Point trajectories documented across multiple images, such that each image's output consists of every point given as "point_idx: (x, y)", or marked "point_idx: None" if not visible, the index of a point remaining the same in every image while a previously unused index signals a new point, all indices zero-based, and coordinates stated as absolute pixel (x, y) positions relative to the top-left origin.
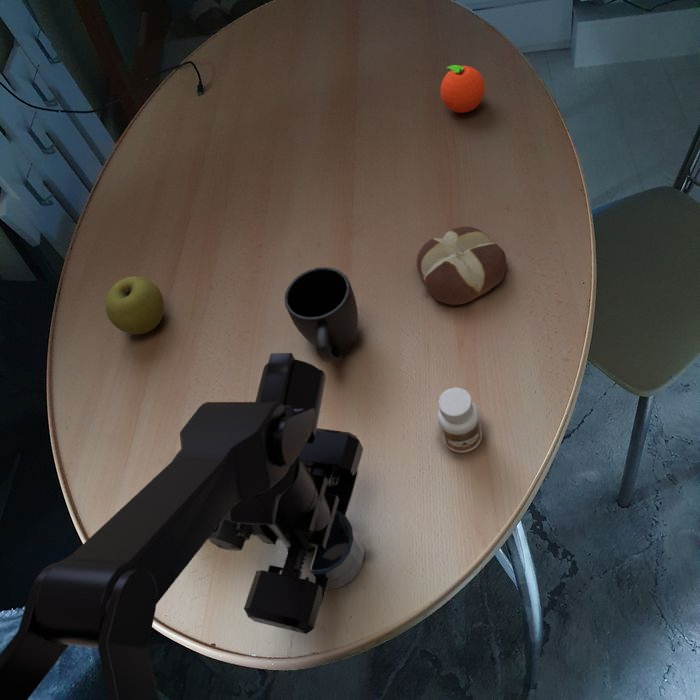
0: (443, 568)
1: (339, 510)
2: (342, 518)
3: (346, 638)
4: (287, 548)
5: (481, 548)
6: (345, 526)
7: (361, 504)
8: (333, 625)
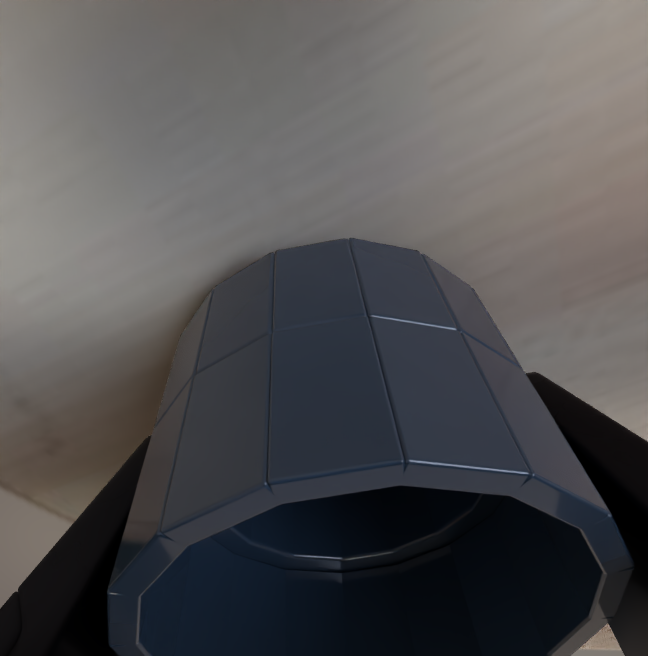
0: None
1: None
2: (543, 638)
3: (83, 510)
4: (194, 519)
5: None
6: (491, 501)
7: (601, 371)
8: (89, 466)
